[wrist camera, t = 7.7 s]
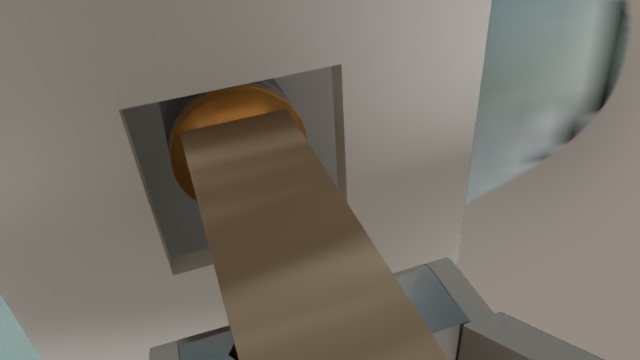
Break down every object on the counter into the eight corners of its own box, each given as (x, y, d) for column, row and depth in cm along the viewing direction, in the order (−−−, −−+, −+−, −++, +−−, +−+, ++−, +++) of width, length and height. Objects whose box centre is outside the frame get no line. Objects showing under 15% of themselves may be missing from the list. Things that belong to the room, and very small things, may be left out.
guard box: (-83, -120, 15) (-225, -64, 9) (360, -165, 19) (511, -149, 12) (78, 233, 24) (70, 404, 17) (364, 161, 27) (455, 280, 20)
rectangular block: (179, 132, 14) (339, 750, 5) (286, 108, 15) (609, 609, 5) (201, 217, 16) (350, 791, 7) (296, 193, 17) (551, 679, 7)
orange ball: (144, 52, 17) (155, 108, 14) (265, 30, 18) (301, 78, 15) (173, 155, 19) (187, 224, 16) (278, 131, 20) (312, 192, 17)
